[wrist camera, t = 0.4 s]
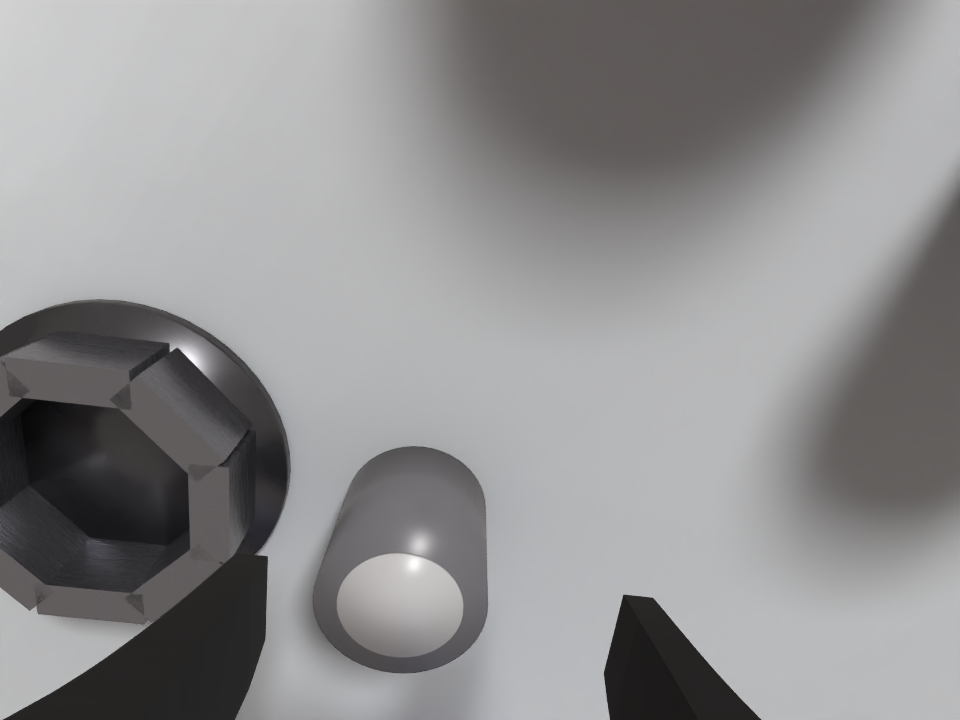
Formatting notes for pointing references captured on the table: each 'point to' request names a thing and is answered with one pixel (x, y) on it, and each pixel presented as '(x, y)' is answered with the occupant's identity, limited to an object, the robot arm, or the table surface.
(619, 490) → the table surface
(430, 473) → the cap
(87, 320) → the socket
